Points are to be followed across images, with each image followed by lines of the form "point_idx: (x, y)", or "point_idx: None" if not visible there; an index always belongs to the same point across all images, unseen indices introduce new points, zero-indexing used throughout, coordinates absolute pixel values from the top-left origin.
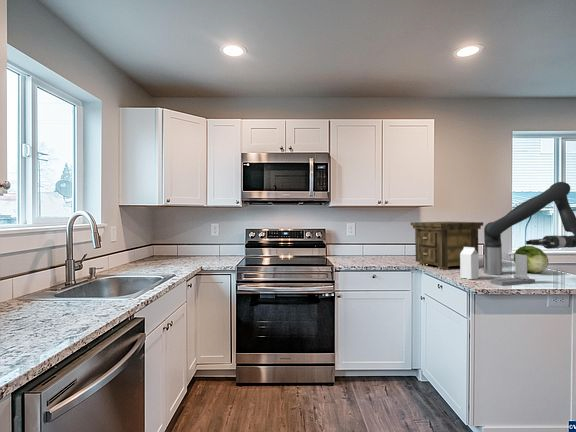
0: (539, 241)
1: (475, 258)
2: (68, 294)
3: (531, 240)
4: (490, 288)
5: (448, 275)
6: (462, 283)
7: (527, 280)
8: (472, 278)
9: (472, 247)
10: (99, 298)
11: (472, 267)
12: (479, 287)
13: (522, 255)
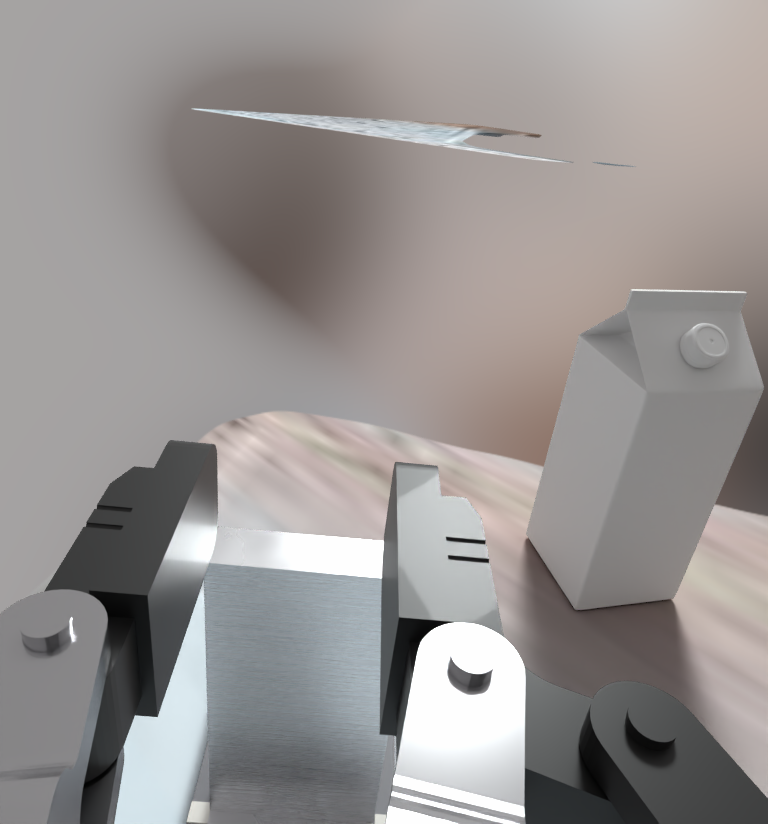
0: (31, 612)
1: (603, 406)
2: (497, 135)
3: (445, 621)
4: (233, 453)
5: (751, 538)
6: (425, 440)
7: (190, 809)
8: (533, 535)
9: (653, 290)
10: (461, 138)
11: (557, 455)
12: (287, 433)
13: (260, 534)
